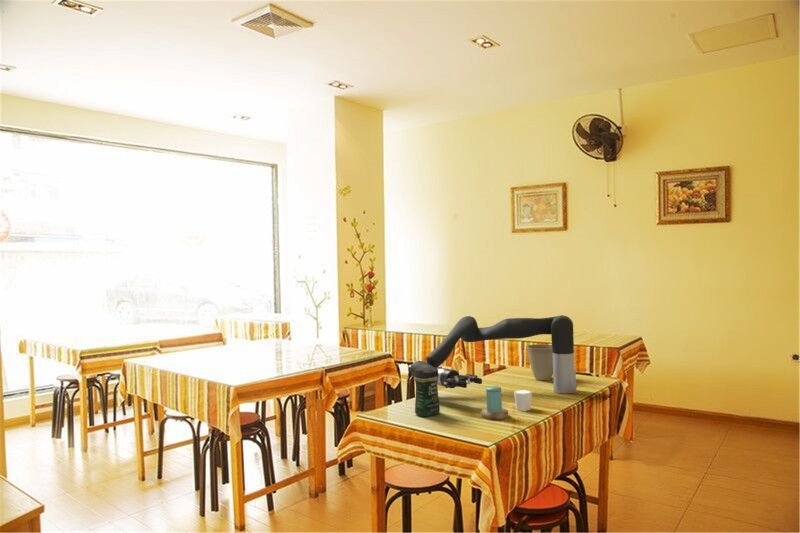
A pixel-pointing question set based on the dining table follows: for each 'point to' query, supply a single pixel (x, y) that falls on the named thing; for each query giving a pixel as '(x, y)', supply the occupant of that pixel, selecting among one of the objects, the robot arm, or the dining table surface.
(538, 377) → the plant pot
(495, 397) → the teal lidded canister
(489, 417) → the post
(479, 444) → the dining table surface
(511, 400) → the dining table surface
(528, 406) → the white cup
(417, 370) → the coffee jar
